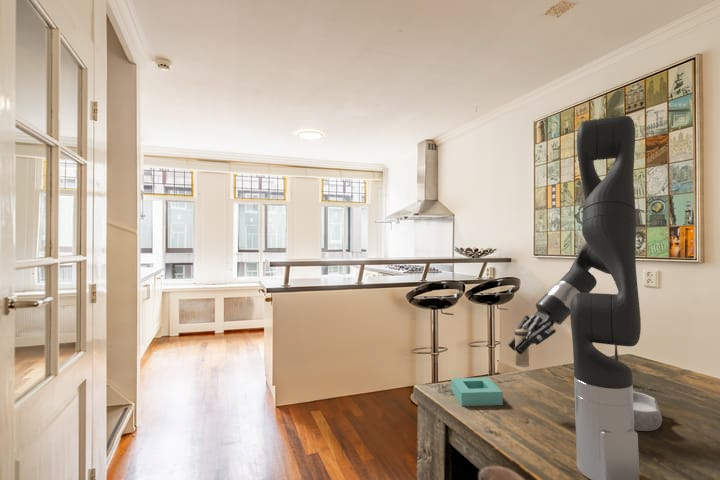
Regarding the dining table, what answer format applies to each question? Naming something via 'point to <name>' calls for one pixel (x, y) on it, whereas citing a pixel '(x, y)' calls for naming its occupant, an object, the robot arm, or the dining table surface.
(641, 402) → the dish
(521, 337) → the tan banded cylinder
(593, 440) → the robot arm
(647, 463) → the dining table surface
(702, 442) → the dining table surface
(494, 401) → the teal square frame
